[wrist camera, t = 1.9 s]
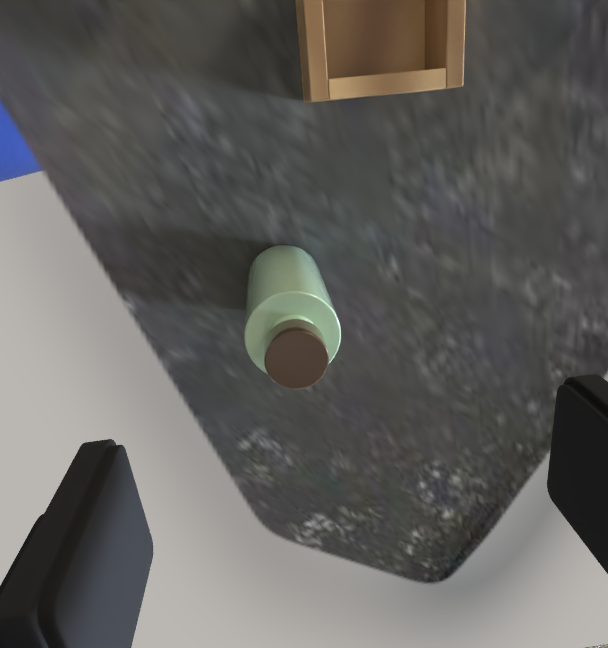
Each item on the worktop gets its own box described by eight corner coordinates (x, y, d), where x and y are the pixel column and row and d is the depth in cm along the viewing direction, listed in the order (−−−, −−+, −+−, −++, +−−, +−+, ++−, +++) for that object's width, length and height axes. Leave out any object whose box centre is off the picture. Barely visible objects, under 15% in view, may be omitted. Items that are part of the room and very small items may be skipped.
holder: (303, 103, 28) (310, 101, 24) (290, -62, 25) (296, -93, 21) (436, 90, 29) (463, 86, 25) (438, -74, 26) (470, -107, 22)
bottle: (252, 317, 33) (250, 413, 22) (243, 249, 31) (235, 318, 20) (322, 309, 33) (352, 401, 22) (316, 240, 31) (347, 305, 21)
